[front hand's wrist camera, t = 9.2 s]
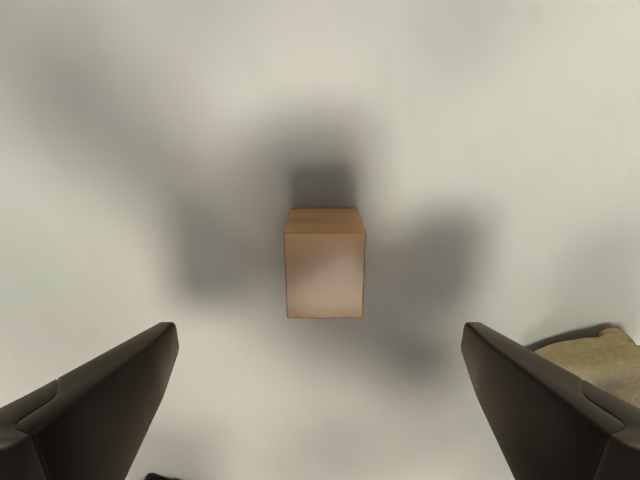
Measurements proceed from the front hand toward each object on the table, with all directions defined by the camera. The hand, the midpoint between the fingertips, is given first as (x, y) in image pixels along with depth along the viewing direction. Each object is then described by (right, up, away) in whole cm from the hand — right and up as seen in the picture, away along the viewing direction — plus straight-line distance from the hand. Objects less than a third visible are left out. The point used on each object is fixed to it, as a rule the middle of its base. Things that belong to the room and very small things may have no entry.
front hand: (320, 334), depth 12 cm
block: (0, +3, +12) cm, 12 cm away
